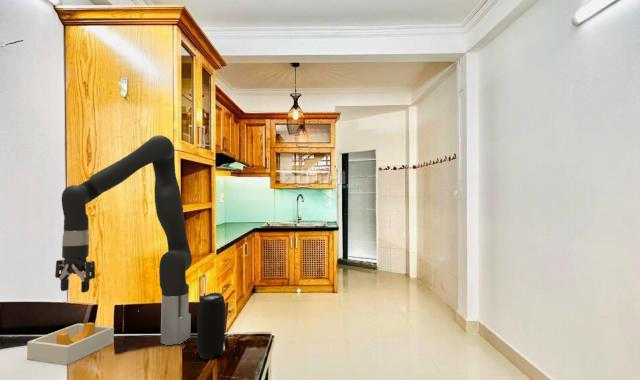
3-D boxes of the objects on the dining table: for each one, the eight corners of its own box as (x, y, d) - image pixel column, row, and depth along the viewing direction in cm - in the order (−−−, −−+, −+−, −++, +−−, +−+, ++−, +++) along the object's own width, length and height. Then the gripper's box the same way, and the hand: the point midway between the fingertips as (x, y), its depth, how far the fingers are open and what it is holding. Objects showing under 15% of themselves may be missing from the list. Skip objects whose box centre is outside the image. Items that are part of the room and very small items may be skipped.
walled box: (113, 342, 128) (113, 327, 128) (66, 365, 110) (67, 347, 110) (77, 338, 132) (78, 323, 132) (26, 359, 114) (27, 341, 114)
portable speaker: (192, 360, 114) (193, 299, 114) (203, 348, 123) (204, 291, 124) (219, 361, 113) (220, 299, 114) (227, 349, 123) (228, 292, 123)
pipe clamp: (84, 340, 127) (85, 321, 128) (94, 341, 126) (94, 323, 127) (51, 354, 116) (52, 334, 116) (62, 355, 115) (63, 335, 115)
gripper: (102, 243, 124) (101, 290, 124) (69, 241, 127) (68, 287, 127) (82, 245, 117) (81, 295, 116) (48, 244, 120) (47, 292, 120)
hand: (74, 291), depth 122 cm, fingers open, 8 cm apart
